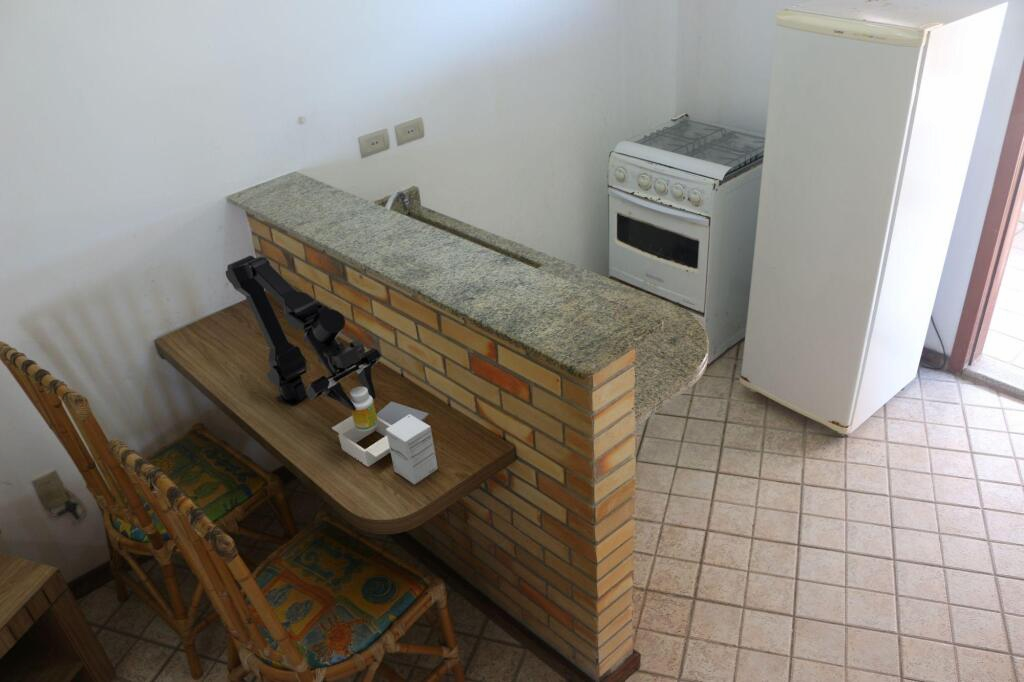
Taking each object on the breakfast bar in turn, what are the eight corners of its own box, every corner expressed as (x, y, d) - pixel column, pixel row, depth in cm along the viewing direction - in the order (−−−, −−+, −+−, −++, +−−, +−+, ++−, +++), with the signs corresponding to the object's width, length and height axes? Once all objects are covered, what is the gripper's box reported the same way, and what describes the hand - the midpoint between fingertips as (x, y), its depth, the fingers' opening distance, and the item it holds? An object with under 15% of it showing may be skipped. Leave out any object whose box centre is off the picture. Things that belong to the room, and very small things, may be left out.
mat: (371, 420, 209) (371, 418, 209) (391, 403, 215) (391, 401, 214) (409, 433, 203) (408, 431, 203) (428, 415, 209) (428, 413, 208)
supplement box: (393, 472, 192) (384, 428, 185) (418, 455, 196) (410, 412, 189) (414, 486, 187) (404, 441, 180) (439, 469, 191) (431, 425, 184)
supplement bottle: (374, 432, 194) (366, 398, 189) (352, 431, 195) (343, 398, 190) (380, 418, 198) (373, 384, 193) (359, 417, 199) (351, 384, 194)
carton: (333, 443, 203) (329, 429, 200) (367, 423, 208) (363, 408, 206) (377, 473, 192) (373, 458, 189) (411, 450, 198) (408, 435, 195)
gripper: (301, 353, 181) (341, 413, 180) (370, 317, 192) (408, 374, 191) (290, 371, 190) (328, 428, 190) (356, 335, 201) (392, 389, 200)
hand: (365, 404), depth 192 cm, fingers closed on supplement bottle, 5 cm apart
